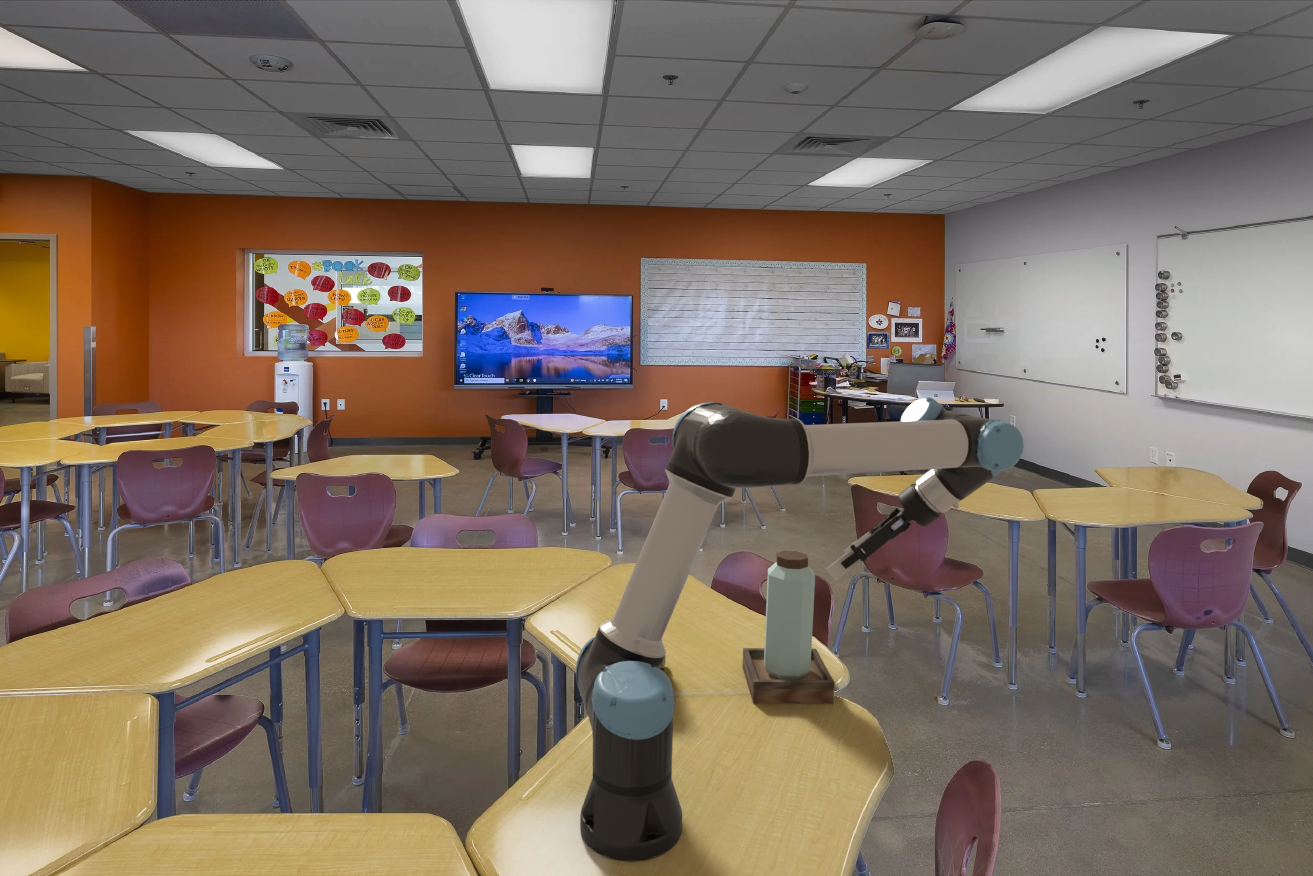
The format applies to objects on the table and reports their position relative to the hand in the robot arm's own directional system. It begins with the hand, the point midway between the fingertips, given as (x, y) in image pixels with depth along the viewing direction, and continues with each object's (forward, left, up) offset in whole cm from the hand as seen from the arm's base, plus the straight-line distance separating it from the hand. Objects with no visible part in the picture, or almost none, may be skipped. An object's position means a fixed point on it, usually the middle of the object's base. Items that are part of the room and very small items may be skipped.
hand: (839, 565), depth 148 cm
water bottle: (-10, +6, -26) cm, 29 cm away
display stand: (-10, +6, -29) cm, 31 cm away
